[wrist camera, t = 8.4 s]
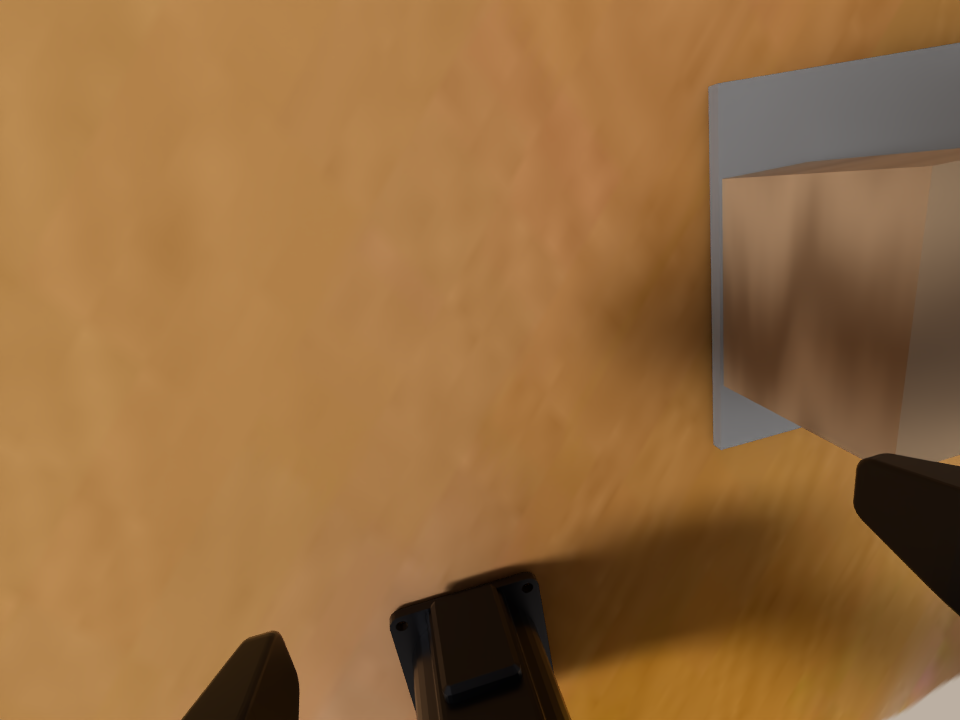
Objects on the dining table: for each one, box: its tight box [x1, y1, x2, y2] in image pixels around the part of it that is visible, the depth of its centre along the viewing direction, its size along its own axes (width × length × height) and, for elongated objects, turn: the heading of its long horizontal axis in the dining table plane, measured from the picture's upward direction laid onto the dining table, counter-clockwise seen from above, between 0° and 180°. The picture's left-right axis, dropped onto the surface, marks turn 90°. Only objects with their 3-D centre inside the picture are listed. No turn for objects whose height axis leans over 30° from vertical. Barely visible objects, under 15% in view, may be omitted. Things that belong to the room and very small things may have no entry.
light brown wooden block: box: [722, 148, 960, 462], centre depth 16 cm, size 8×4×7 cm, turn 10°
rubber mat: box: [708, 43, 960, 450], centre depth 20 cm, size 14×12×1 cm
